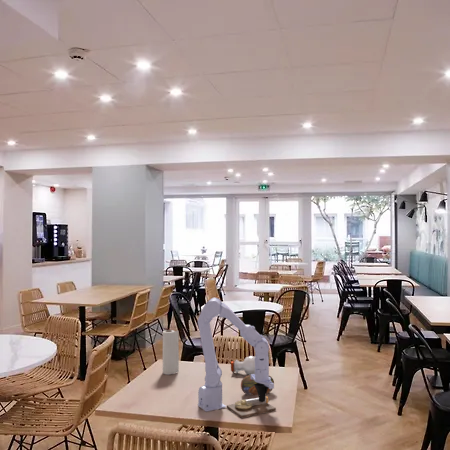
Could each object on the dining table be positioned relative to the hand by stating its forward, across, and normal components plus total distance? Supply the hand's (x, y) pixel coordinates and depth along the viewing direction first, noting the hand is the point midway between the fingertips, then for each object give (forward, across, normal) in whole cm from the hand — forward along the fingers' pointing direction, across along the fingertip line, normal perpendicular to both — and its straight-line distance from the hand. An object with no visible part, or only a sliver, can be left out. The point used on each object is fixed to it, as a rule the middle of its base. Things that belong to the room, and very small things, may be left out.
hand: (262, 401), depth 192 cm
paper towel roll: (+2, +61, +16) cm, 63 cm away
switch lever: (+1, +1, +4) cm, 5 cm away
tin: (+3, +15, -7) cm, 17 cm away
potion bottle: (+3, +40, -17) cm, 44 cm away
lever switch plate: (+2, +1, +5) cm, 5 cm away
